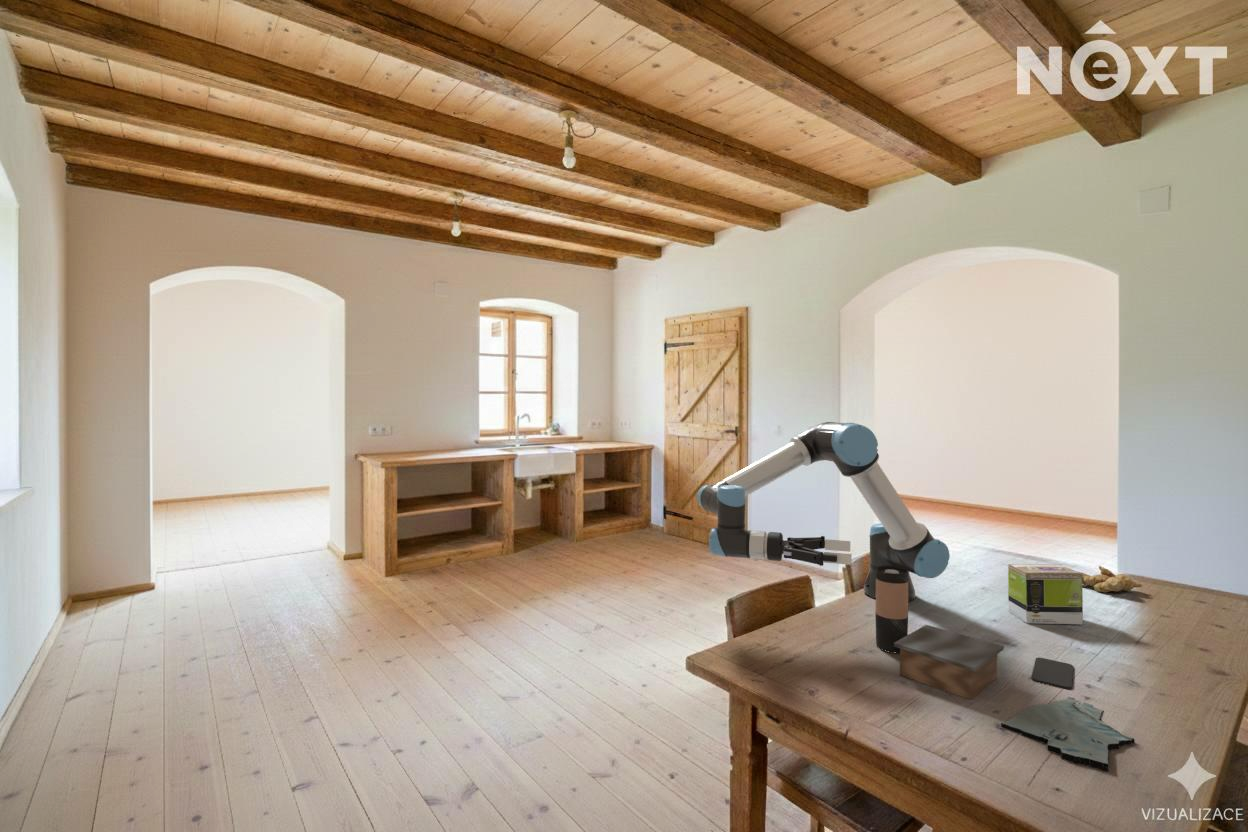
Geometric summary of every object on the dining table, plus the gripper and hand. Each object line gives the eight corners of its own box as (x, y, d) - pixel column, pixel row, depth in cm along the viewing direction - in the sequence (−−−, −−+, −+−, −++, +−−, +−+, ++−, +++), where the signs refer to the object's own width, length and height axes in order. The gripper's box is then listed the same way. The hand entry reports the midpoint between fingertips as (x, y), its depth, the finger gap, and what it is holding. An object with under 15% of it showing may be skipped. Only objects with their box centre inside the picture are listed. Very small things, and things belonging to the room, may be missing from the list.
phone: (1073, 664, 142) (1072, 688, 131) (1073, 668, 142) (1071, 691, 131) (1035, 656, 147) (1030, 678, 135) (1035, 659, 147) (1030, 682, 135)
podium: (893, 674, 138) (893, 642, 138) (925, 654, 149) (926, 624, 149) (974, 703, 125) (974, 667, 125) (1003, 678, 136) (1003, 645, 136)
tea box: (1061, 613, 177) (1061, 563, 177) (1083, 626, 167) (1084, 573, 167) (1006, 611, 179) (1007, 562, 178) (1026, 624, 169) (1026, 572, 168)
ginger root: (1156, 594, 190) (1149, 569, 190) (1106, 606, 190) (1100, 581, 191) (1116, 580, 206) (1110, 558, 206) (1071, 592, 206) (1065, 569, 206)
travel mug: (907, 644, 155) (908, 567, 155) (908, 656, 148) (908, 575, 148) (875, 639, 158) (876, 564, 158) (874, 650, 151) (875, 571, 151)
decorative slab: (966, 697, 129) (966, 688, 129) (1082, 699, 128) (1082, 690, 128) (1048, 773, 102) (1048, 762, 102) (1195, 776, 102) (1195, 764, 102)
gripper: (771, 548, 175) (849, 555, 168) (761, 571, 151) (851, 580, 144) (771, 523, 175) (850, 528, 168) (761, 542, 151) (852, 549, 144)
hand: (851, 552), depth 156 cm, fingers open, 13 cm apart
